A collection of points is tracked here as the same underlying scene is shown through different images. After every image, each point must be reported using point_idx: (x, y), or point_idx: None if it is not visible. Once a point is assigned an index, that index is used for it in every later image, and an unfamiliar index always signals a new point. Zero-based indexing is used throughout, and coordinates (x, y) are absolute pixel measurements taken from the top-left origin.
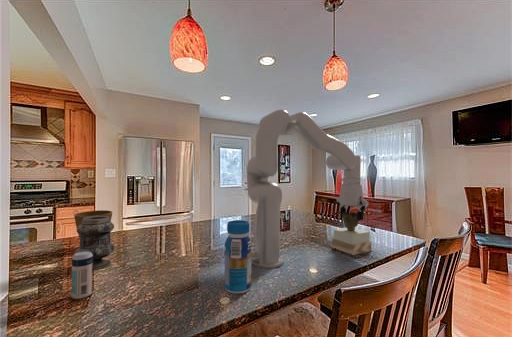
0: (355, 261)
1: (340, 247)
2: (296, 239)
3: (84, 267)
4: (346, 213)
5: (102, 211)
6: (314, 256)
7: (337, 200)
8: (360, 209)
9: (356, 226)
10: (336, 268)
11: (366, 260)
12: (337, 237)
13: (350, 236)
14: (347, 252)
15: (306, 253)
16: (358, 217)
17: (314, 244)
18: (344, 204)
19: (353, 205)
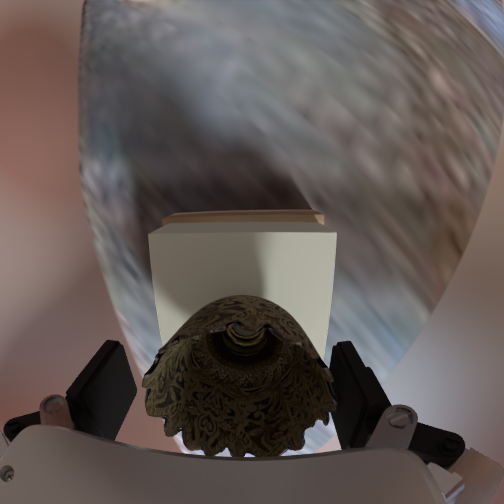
0: (116, 159)
1: (254, 211)
2: (465, 158)
3: None
4: (319, 413)
5: None
6: (242, 44)
7: (481, 466)
8: (40, 408)
9: (203, 352)
10: (110, 53)
11: (107, 211)
12: (288, 224)
13: (169, 231)
14: (208, 211)
15: (291, 40)
16: (96, 353)
17: (386, 167)
18: (274, 464)
19: (55, 433)
